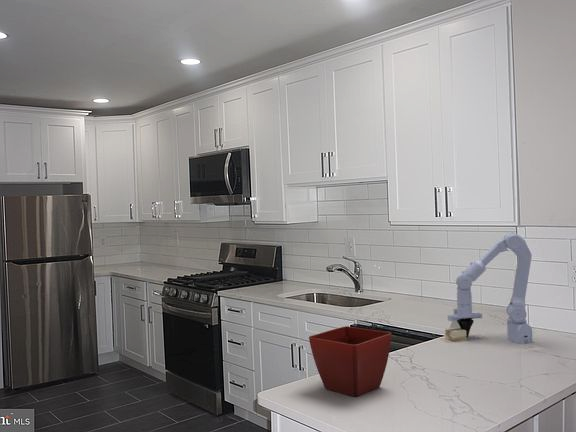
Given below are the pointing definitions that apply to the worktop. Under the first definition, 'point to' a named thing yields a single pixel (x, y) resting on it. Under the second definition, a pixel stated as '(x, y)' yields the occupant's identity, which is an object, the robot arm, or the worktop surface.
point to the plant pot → (351, 358)
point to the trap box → (469, 338)
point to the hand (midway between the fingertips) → (465, 336)
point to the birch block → (455, 334)
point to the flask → (455, 321)
